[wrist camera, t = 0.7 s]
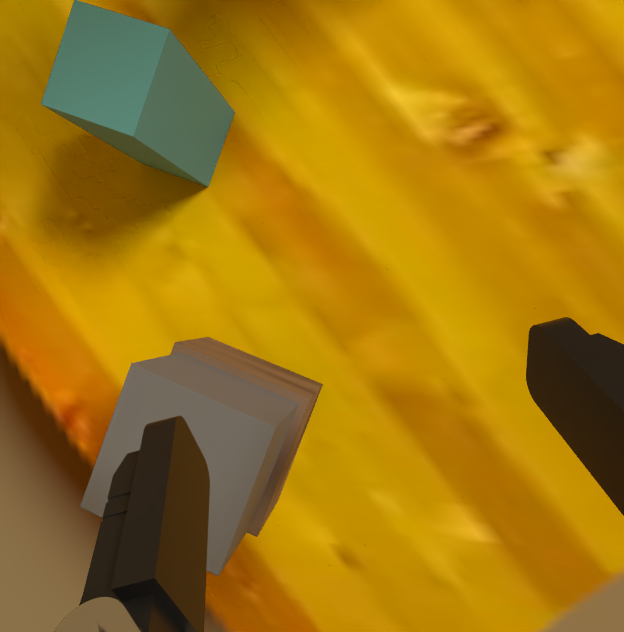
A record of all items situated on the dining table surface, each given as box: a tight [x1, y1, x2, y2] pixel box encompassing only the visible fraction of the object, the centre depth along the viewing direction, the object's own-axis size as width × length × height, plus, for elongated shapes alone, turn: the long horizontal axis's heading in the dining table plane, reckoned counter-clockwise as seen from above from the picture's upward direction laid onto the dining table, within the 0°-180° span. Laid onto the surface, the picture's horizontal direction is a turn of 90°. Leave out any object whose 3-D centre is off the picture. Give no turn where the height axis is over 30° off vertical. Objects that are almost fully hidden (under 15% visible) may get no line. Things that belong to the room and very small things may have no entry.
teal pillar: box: [41, 0, 235, 187], centre depth 26 cm, size 5×5×9 cm
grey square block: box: [80, 353, 299, 576], centre depth 23 cm, size 7×7×5 cm
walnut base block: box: [171, 337, 323, 537], centre depth 28 cm, size 8×8×5 cm
